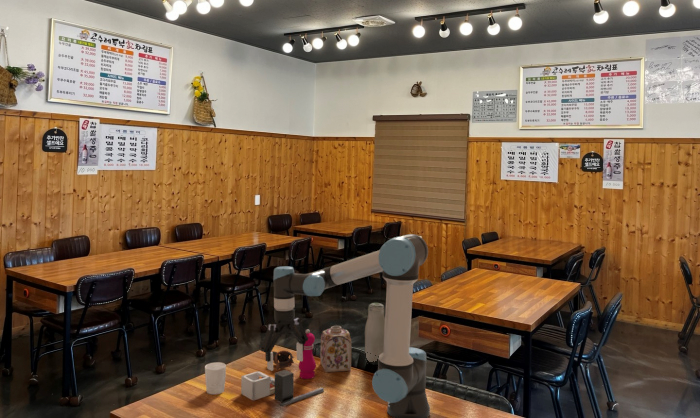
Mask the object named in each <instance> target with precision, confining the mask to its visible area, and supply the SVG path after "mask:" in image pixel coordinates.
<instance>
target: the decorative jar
mask: <svg viewBox="0 0 700 418" xmlns="http://www.w3.org/2000/svg"><path fill="white" fill-rule="evenodd" d="M319 359H320V364H321V366H322V370H323V371H324V372H325V373H334V372H336V373H337V372H348V371H349V372H350V371H351V370H352V339H351V334H350V332H349V330H347V329H344V328H342V326H340V325H333V326H331V327H330V328H327V329H325V330H322V333H321V334H320V358H319Z"/></svg>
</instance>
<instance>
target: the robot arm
mask: <svg viewBox="0 0 700 418" xmlns="http://www.w3.org/2000/svg"><path fill="white" fill-rule="evenodd" d="M428 255H429V248H428V244H427V242H426V241H425V239H424V238H423V237H421V236H419V235H417V234H414V233H413V234H412V233H411V234H409V233H408V234H404V235H402V236H401V235H400V236H396V237H395V236H394V237H393V238H390V239H389V240H387V241H386V242H384V244H383V245H382V246H381V247H380V249H379V250H377V251H372V252H370V253H366V254H365V255H361V256H358V257H355V258H351V259H349V260H346V261H343V262H340V263H337V264H334V265H331V266H328V267H324V268H322V269H318V270H316V271H313V272H309V273H296V272H295V268H294V267H293V266H287V265H286V266H277V267H275V268H274V269H273V279H272V280H273V307H274V310H273V312H274V313H273V315H274V316H273V317H274V318H273V319H274V324H271V323H268V324H267V326H266V327H267V328H266V333H265V335H264V338H263V341H262V344H261V346H260V351H261V352H263V353H264V355H265V362H266V366H267V367H266V368H267V370H269V371H270V372H271V371H274V361H273V352H274V351H273V349H274V348H275V345H276V344H277V342H278V341H279V339H280V338H281V337H282V335H283V336H284V335H286V334H291V335H292V336H293V337H294V338H295V340H297V342H296V361H299V362H300V361H303V351H304V344H305V343H306V341H308V337H307V335H306V330H305V328H304V326H303V324H302V319H301V318H299V317H295V315H296V314H295V313H296V312H295V311H296V309H295V304H296V303H295V295H298V296H299V295H301V296H307V297H319V296H321V295H322V294H323V292H324V291H325V290H326V289H331V288H332V287H335V286H338V285H342V284H345V283H349V282H352V281H356V280H358V279H362V278H365V277H369V276H372V275H375V274H378V273H382V278H383V279H384V280H385V281H386V293H385V294H386V299H385V310H384V318H385V330H384V348H383V353H382V354H380V355H379V358H378V366H377V370H376V371H375V372H374V374H373V376H372V379H371V384H372V385H371V387H372V389H373V391H374V393H375V394H376V395H377V396H378V398H379V399H381V400H382V401H384V402H386V403H387V410H386V411H387V414H388V415H389V416H390V417H392V418H429V417H430V415H431V407H430V404H429V400H428V396H427V392H426V384H427V383H426V381H427V380H426V379H427V353H426V351H424V350H423V349H420V348H416V347H412V346H410V345H411V328H412V312H413V311H412V309H413V294H414V293H413V292H414V283H416V282H417V281H418V280H419V271H420V266H422V265H423V264H424V263H425V262H426V261H427V259H428ZM294 326H295V327H296V328H295V327H294ZM297 331H298V332H297Z"/></svg>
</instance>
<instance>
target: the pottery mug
mask: <svg viewBox="0 0 700 418" xmlns="http://www.w3.org/2000/svg"><path fill="white" fill-rule="evenodd" d="M272 352H273V364H274V365H275V370H276V371H279V370H282V369H285V368H286V369H287V368H288V367H290V366H291V365H292V364H294V362H295V361H294V360H293V359H294V358H295V357H294V356H293V353H291V352H290V351H288V350H279V351H278V352H277V351H272Z"/></svg>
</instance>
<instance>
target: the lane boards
mask: <svg viewBox="0 0 700 418" xmlns="http://www.w3.org/2000/svg"><path fill="white" fill-rule="evenodd" d="M273 378H274V379H275V377H273ZM294 383H295V382H293V388H294V387H295V385H294ZM271 395H275V386H274V387H273V388H270V395H269V396H271Z"/></svg>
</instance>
